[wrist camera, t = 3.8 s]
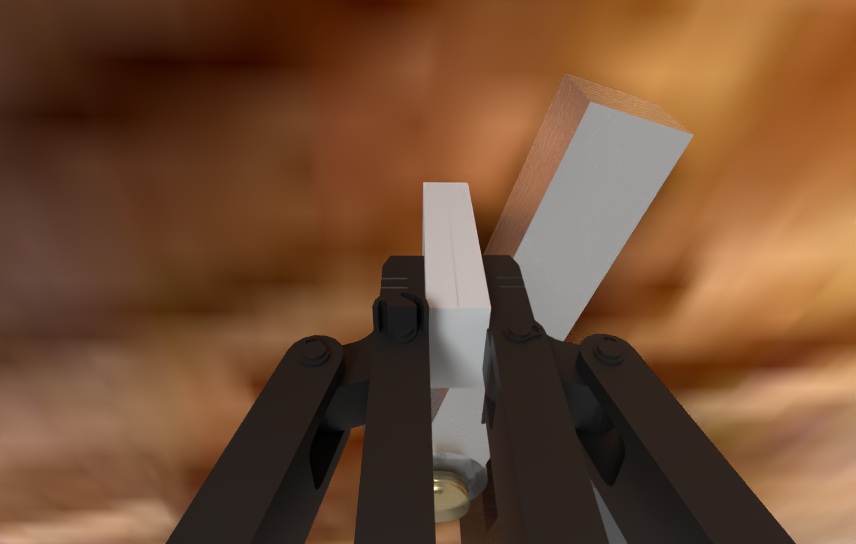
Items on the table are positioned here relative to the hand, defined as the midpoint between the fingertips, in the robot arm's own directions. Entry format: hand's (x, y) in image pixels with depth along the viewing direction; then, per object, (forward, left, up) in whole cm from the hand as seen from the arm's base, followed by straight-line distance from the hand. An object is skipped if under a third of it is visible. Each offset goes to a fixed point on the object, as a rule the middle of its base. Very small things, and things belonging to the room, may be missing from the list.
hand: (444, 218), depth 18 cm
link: (+7, +1, -2) cm, 7 cm away
